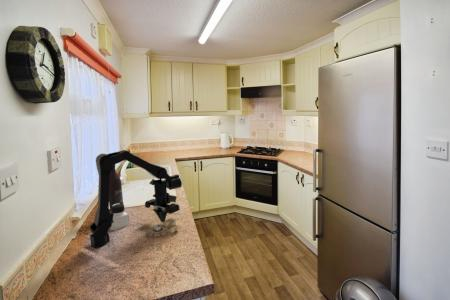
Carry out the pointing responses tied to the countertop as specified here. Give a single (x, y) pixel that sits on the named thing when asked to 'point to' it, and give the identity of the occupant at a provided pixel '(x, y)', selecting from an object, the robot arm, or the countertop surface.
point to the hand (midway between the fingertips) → (163, 222)
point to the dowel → (176, 228)
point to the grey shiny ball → (157, 228)
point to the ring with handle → (162, 227)
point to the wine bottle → (115, 189)
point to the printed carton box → (119, 217)
